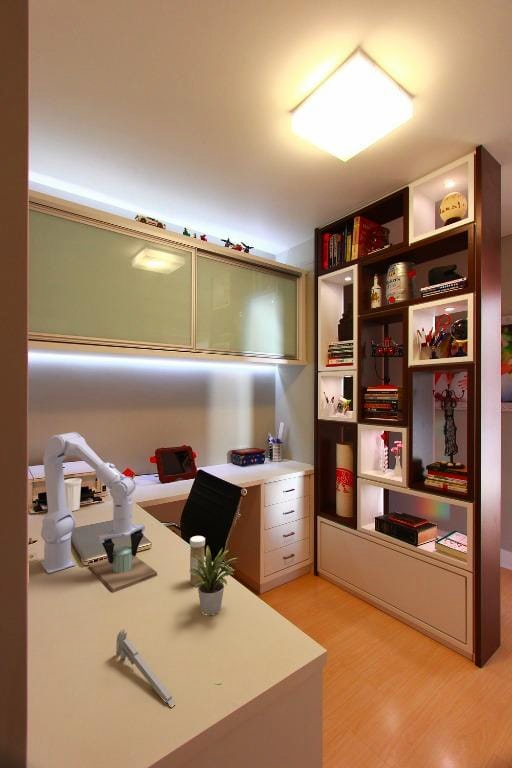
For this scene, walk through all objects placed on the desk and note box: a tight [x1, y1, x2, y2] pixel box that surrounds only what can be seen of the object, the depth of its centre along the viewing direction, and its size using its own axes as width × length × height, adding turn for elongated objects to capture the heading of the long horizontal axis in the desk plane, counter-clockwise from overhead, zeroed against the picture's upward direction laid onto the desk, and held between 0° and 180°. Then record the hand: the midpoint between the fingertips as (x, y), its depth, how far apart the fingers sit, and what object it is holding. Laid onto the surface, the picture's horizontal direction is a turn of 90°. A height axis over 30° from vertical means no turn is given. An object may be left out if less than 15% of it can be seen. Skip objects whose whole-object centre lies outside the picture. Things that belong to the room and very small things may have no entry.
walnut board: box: [88, 555, 158, 593], centre depth 118 cm, size 20×14×1 cm
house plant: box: [189, 545, 240, 616], centre depth 96 cm, size 14×14×16 cm
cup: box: [64, 477, 83, 512], centre depth 176 cm, size 8×8×14 cm
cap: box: [113, 545, 132, 573], centre depth 118 cm, size 6×6×6 cm
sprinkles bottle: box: [189, 535, 206, 587], centre depth 112 cm, size 5×5×14 cm
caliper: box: [115, 628, 176, 706], centre depth 75 cm, size 20×1×6 cm, turn 49°
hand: (122, 558), depth 118 cm, fingers open, 7 cm apart
